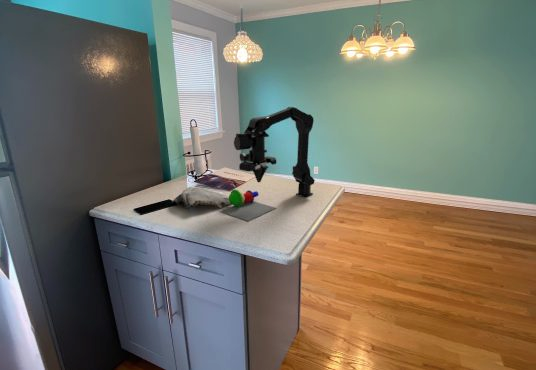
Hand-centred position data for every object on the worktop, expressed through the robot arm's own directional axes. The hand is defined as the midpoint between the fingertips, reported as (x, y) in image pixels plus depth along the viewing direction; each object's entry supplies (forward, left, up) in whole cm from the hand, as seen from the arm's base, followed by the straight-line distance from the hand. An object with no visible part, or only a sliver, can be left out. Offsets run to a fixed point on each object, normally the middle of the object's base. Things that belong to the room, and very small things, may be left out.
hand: (258, 182), depth 135 cm
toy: (-4, -6, -7) cm, 10 cm away
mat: (+7, 0, -11) cm, 13 cm away
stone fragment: (+14, -24, -12) cm, 31 cm away
